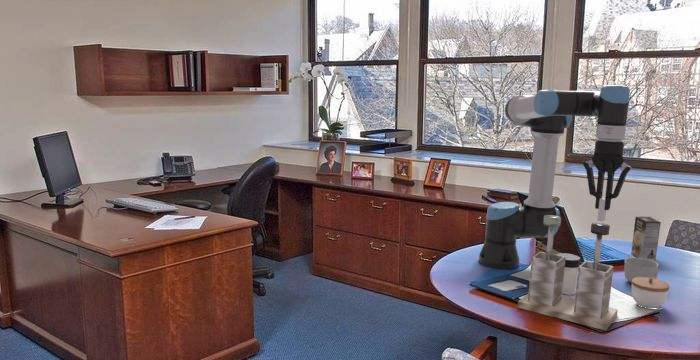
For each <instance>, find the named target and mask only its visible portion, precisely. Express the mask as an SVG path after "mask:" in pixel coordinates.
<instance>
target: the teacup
mask: <svg viewBox="0 0 700 360" xmlns="http://www.w3.org/2000/svg"><path fill="white" fill-rule="evenodd" d="M659 266H660V265H659V263H658V262H657V260H655V261H654V260H650V259H646V258H637V257H636V256H634V255H633V256H629V257H627V258H626V259H624V270H623V271H624V278H625V279H626V280H627V281H628V282H630V283H631V284H632V279H633V278H636V277H647V278H649V277H652V278H654V279H658V272H659Z"/></svg>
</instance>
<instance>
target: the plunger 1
mask: <svg viewBox="0 0 700 360" xmlns="http://www.w3.org/2000/svg"><path fill="white" fill-rule="evenodd" d="M561 222H562V217H561V216H554V215H545V216H544V221H543V224H544V225H546V226H549V230H548V237H547V243H546V252H545V253H546V260H549V261H551V257H552V254H553V247H554V246H553V244H554V236H555V234H554V227H559V228H560V226H561V224H562V223H561Z"/></svg>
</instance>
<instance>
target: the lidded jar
mask: <svg viewBox="0 0 700 360" xmlns="http://www.w3.org/2000/svg"><path fill="white" fill-rule="evenodd" d="M669 290H670V284H668V283H667V282H666V281H663V280H661V279H658V278H657V279H654V278H652V277H649V278H647V277H636V278H633V279H632V283H631V295H632V296H631V297H632V299H633V300H634V301H635V303H636V305H637V304H638V305H640V306H642V307H646V308H658V309H659V308H660V307H662V305H664V304H665V302H667V299H668V295H669ZM638 305H637V306H638ZM640 306H639V307H640ZM642 307H641V308H642ZM646 308H645V309H646Z"/></svg>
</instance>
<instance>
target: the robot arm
mask: <svg viewBox="0 0 700 360" xmlns="http://www.w3.org/2000/svg"><path fill="white" fill-rule="evenodd" d="M630 90H631V89H630V87H629V86H627V85H616V84H615V85H613V84H612V85H610V84H604V85H602V87H601V88H600V90H562V89H561V90H560V89H559V90H557V89H540V90H538V91H537V92H536V94H519V95H516V96H513V97H511V98H509V100H508V101H507V102H506V104H505V105H504V106H505V107H504V114H505V116H506V118H507V120H509V121H510V122H511V123H512V124H514V125H517V126H520V127H529V128H530V132H531V133H532V134H533V135H534V139H533V150H532V159H531V167H530V176H529V177H530V178H529V179H530V180H529V186H528V187H529V188H528V197H527V198H526V199H525V200H523V205H522V206H520V205H519V204H518V202H514V201H499V202H495V203H492V204H490V205H489V206H488V207H487V210H486V211H487V212H486V215H485V220H486V221H485V235H484V243H483V245H482V248H481V250H480V252H479V255H478V262H479V263H480V264H482V265H484V266H486V267H489V268H495V269H502V270H503V269H505V270H507V269H514V268H515V269H516V268H517V267H519V265H520V256H519V253H518V249H517V238H539V239H544V238H548V230H549V226H546V225H544V224H543V221H544V216H545V215H554V216H559V217H561V213H560V210H559V209H558V208H557V207H556V203H555V202H554V201H553V194H554V184H555V183H554V182H555V176H556V175H555V174H556V167H557V157H558V149H559V140H560V137H561V136H563V135H564V133H565V129H568V128H570V126H571V123H572V121H573V117H593V118H594V117H596V118H597V124H596V132H595V133H596V134H595V135H596V136H595V137H596V140H595V141H594V151H593V155H592V157H591V159H590V160H588V161H584V162H583V164H582V165H583V168H584V169H585V171H586V178H587V185H588V191H589V192H588V193H589V195H591V196H593V197H595V204H594V207H595V208H594V209H597V210H598V212H597V222H604V221H605V220H606V213H607V211H609V210H610V209H611V202H612V199H616V198H618V197H619V195H620V193H621V192H622V191H621V190H622V188H623V185H624V182H625V180H626V178H627V175H628V173H629V172H631V170H632V169H633V168H632V166H631V165H628V164H627V163H626V162H625V160H624V149H625V147H624V146H625V142H624V141H623V140H625V138H626V129H627V119H628V111H629V104H630ZM593 167H595V168H596V170H597V183H595V176H594V169H593ZM620 167H621V169H620ZM619 169H620V171H621V173H620V175H619V177H618V180H617V183H616V184H615V188H614V179H615V178H614V177H615V172H616V171H618V170H619ZM605 174H607V175H606V176H607V177H606V188H605V197H603V192H604V183H605ZM613 188H614V191H613ZM559 228H560V226H559V227H554V235H556V234H557V232H558V230H559Z"/></svg>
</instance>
